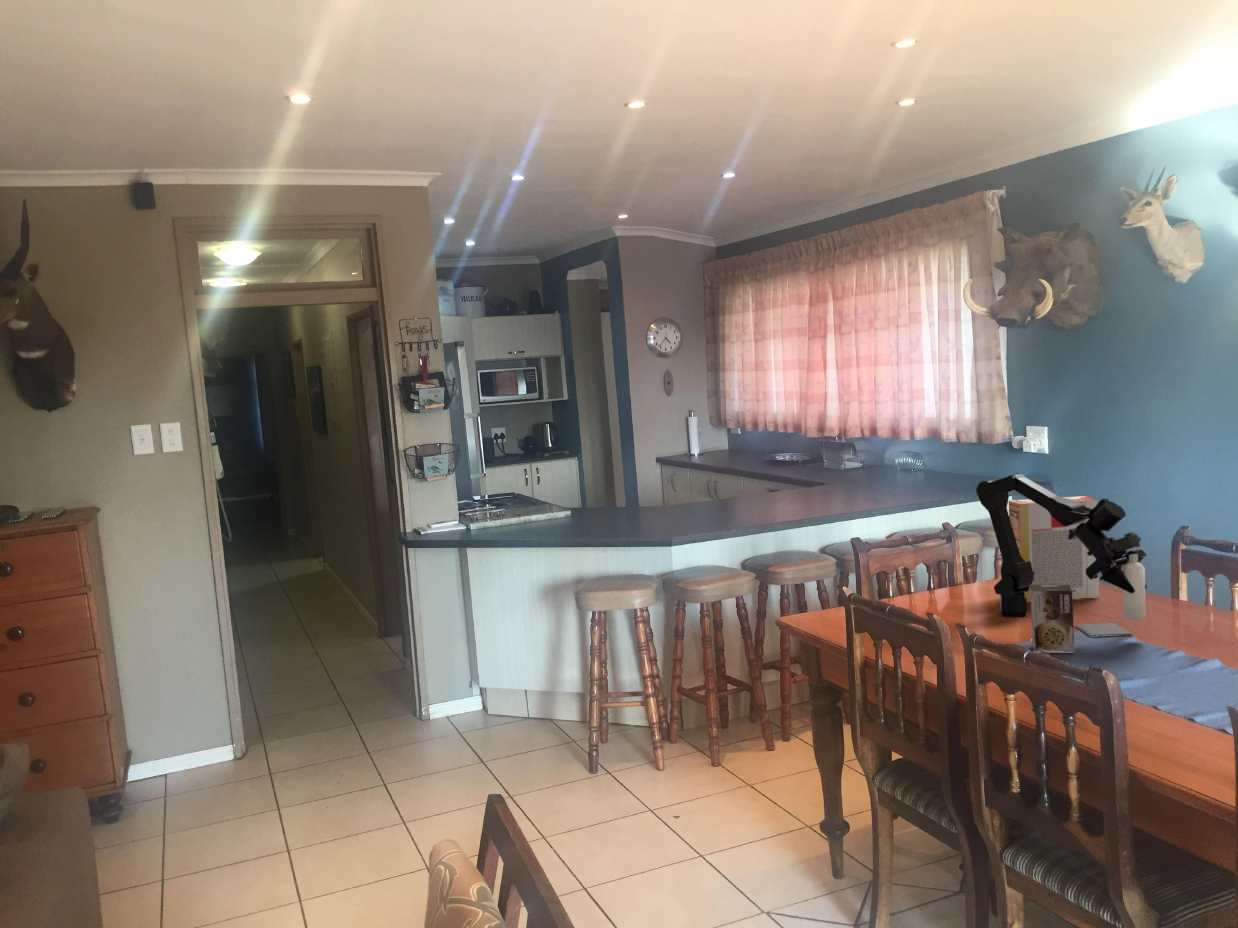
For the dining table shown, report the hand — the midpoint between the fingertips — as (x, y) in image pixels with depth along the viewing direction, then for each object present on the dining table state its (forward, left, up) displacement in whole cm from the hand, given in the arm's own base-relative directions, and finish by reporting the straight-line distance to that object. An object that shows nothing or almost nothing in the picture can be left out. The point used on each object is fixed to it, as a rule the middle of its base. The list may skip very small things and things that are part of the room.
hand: (1139, 590), depth 226 cm
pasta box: (-11, +46, -13) cm, 49 cm away
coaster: (-6, +8, -13) cm, 17 cm away
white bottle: (-1, +1, -7) cm, 7 cm away
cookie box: (-22, -9, -13) cm, 27 cm away
